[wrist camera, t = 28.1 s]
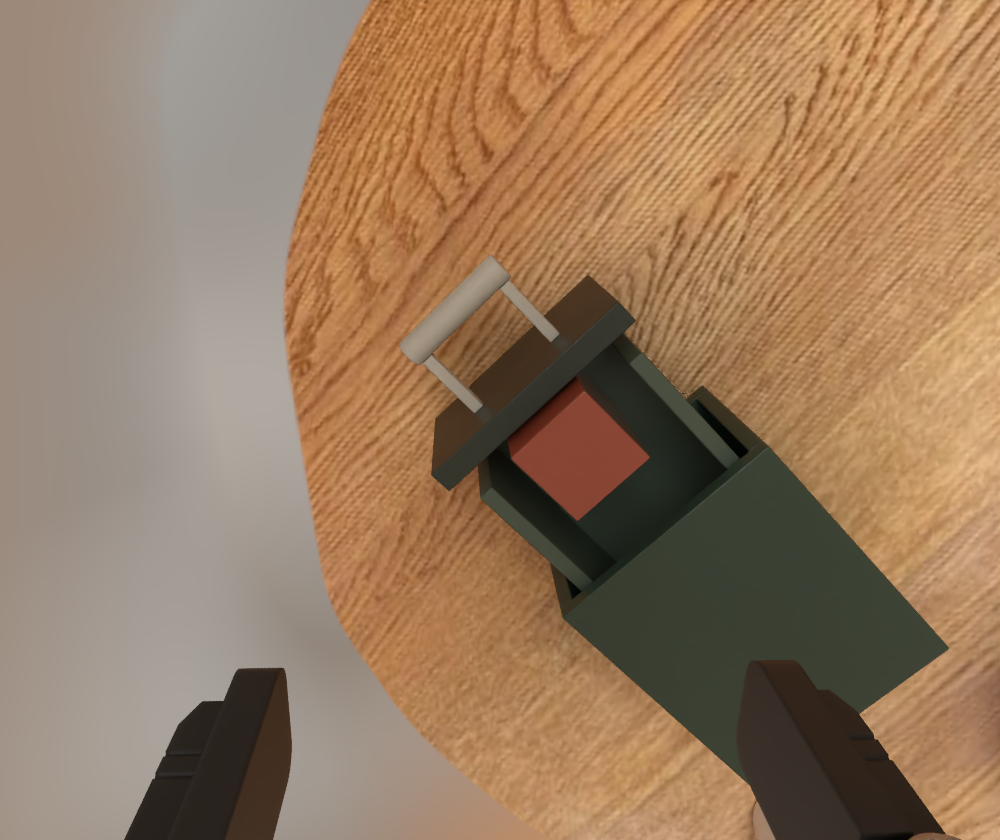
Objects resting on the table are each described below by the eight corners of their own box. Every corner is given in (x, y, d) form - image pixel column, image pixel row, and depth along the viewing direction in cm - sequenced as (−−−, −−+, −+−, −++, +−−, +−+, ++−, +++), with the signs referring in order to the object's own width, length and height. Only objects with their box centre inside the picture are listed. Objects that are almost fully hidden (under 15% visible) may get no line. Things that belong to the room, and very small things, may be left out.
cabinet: (540, 525, 45) (562, 618, 36) (702, 384, 43) (768, 446, 34) (699, 674, 49) (754, 790, 40) (854, 554, 47) (950, 648, 38)
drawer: (369, 357, 40) (350, 402, 33) (524, 204, 38) (541, 215, 31) (605, 578, 45) (634, 659, 38) (752, 455, 43) (813, 516, 36)
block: (555, 455, 41) (577, 521, 34) (500, 402, 40) (510, 459, 33) (614, 401, 41) (650, 458, 33) (560, 345, 39) (584, 390, 32)
